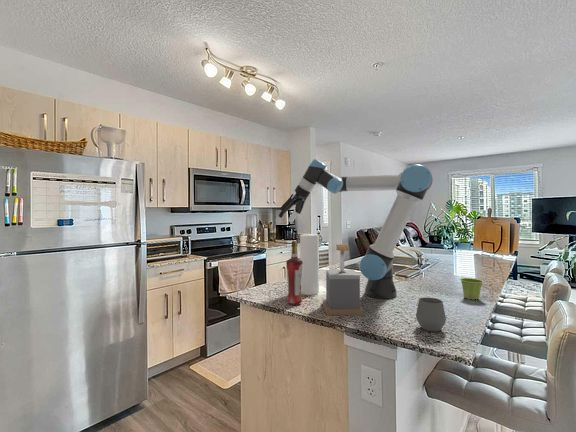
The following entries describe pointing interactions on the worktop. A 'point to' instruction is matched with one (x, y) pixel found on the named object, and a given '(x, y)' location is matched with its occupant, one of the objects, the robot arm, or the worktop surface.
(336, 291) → the press
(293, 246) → the liquor
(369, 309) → the worktop surface
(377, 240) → the robot arm
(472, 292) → the plant pot
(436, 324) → the cup
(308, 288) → the cylinder container
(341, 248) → the plunger
